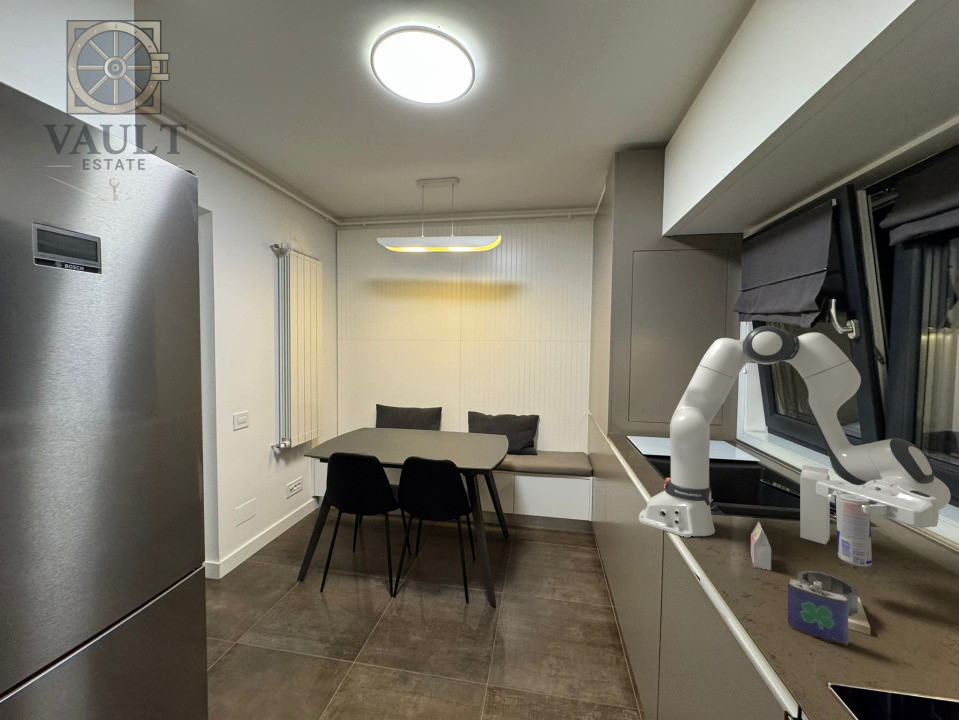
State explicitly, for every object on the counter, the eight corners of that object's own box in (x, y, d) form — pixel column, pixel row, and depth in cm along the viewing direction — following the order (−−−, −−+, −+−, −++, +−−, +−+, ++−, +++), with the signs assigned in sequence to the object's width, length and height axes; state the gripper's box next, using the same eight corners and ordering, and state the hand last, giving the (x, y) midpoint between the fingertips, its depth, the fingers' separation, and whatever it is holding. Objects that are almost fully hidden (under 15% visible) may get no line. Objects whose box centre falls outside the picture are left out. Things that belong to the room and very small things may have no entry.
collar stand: (792, 611, 83) (792, 586, 83) (790, 584, 93) (790, 562, 93) (870, 635, 76) (870, 608, 76) (859, 603, 85) (859, 579, 85)
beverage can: (879, 568, 85) (877, 500, 85) (853, 568, 85) (851, 500, 85) (855, 555, 90) (853, 492, 91) (831, 555, 91) (829, 492, 91)
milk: (826, 545, 112) (826, 471, 112) (799, 537, 117) (800, 466, 116) (829, 538, 116) (830, 467, 116) (804, 531, 121) (804, 462, 120)
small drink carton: (767, 558, 105) (767, 522, 105) (771, 570, 99) (771, 532, 99) (750, 555, 107) (750, 520, 107) (753, 566, 101) (753, 529, 101)
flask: (847, 641, 75) (847, 586, 74) (849, 650, 72) (849, 594, 72) (787, 620, 80) (787, 570, 80) (787, 628, 78) (787, 577, 78)
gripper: (838, 472, 102) (798, 476, 98) (948, 501, 82) (903, 507, 78) (837, 495, 102) (798, 500, 98) (947, 530, 82) (903, 537, 78)
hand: (845, 504), depth 88 cm, fingers closed on beverage can, 5 cm apart
